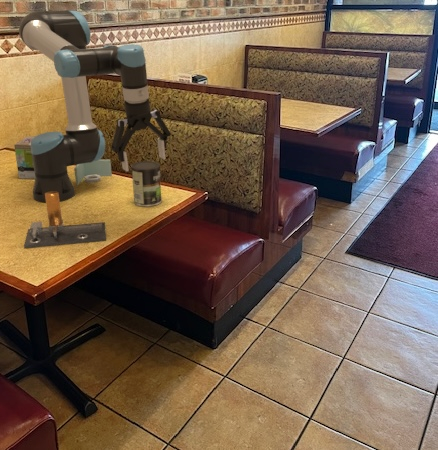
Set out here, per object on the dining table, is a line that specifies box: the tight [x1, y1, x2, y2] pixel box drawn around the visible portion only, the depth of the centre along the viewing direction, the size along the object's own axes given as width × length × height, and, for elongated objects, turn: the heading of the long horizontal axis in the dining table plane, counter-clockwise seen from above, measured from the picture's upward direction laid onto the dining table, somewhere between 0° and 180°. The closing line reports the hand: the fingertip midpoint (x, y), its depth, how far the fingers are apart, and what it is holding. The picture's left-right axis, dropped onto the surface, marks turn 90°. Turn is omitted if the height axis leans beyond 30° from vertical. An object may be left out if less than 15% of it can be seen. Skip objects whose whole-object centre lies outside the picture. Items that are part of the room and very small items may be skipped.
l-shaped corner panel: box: [73, 159, 112, 186], centre depth 205 cm, size 12×12×8 cm
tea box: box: [13, 135, 36, 180], centre depth 211 cm, size 15×10×15 cm
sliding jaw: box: [45, 191, 64, 239], centre depth 154 cm, size 9×4×12 cm, turn 13°
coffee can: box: [130, 160, 163, 208], centre depth 182 cm, size 10×10×14 cm
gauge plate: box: [23, 221, 107, 249], centre depth 157 cm, size 12×24×4 cm, turn 103°
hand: (144, 163), depth 161 cm, fingers open, 13 cm apart
